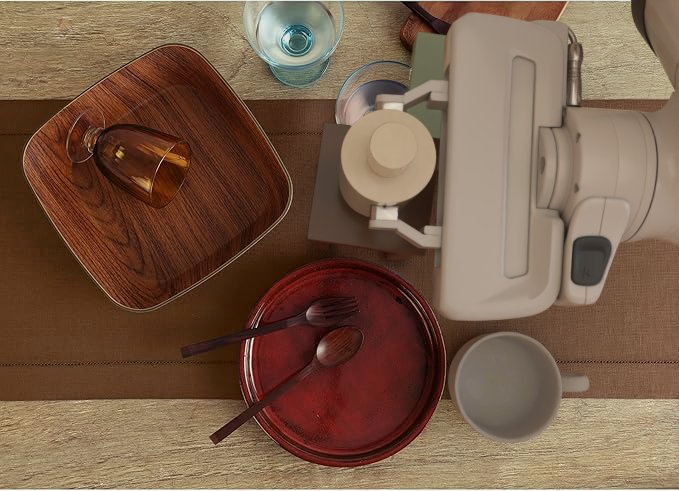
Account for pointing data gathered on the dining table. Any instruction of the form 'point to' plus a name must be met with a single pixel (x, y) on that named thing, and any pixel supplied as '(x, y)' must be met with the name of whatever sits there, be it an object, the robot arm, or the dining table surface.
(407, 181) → the bottle
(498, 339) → the teacup
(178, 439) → the dining table surface
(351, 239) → the stand
